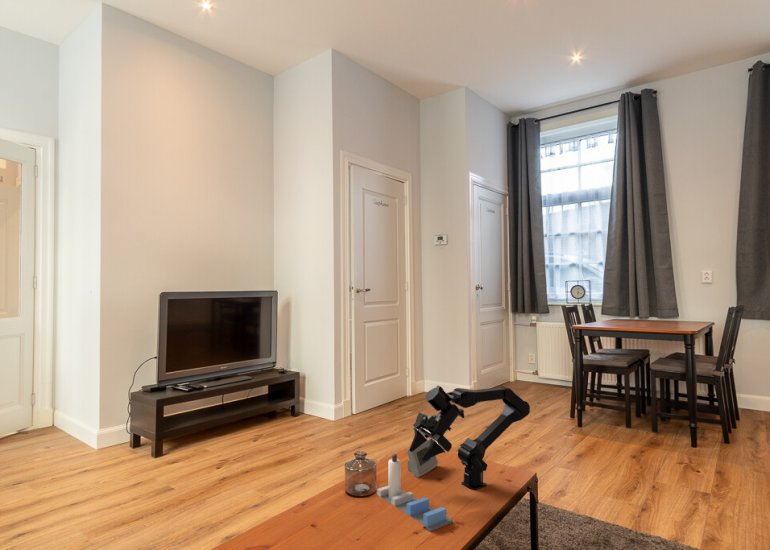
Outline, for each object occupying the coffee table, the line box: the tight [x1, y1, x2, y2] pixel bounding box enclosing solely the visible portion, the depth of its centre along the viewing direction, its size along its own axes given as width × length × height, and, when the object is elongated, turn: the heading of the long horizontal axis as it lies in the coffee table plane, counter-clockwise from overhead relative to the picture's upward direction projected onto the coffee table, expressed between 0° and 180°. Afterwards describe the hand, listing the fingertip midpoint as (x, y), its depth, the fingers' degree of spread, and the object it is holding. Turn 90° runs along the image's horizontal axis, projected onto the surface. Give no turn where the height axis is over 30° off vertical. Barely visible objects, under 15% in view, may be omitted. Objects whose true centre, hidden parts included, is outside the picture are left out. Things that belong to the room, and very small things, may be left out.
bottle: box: [387, 453, 402, 500], centre depth 156 cm, size 4×4×14 cm
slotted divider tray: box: [375, 485, 454, 533], centre depth 150 cm, size 9×28×4 cm, turn 35°
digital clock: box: [406, 437, 439, 478], centre depth 180 cm, size 16×9×11 cm, turn 134°
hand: (416, 455), depth 159 cm, fingers open, 9 cm apart
